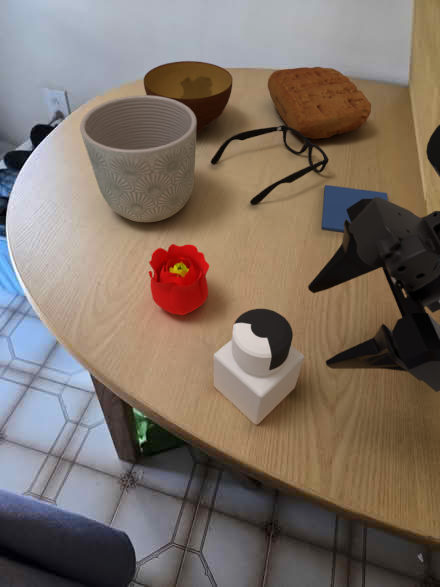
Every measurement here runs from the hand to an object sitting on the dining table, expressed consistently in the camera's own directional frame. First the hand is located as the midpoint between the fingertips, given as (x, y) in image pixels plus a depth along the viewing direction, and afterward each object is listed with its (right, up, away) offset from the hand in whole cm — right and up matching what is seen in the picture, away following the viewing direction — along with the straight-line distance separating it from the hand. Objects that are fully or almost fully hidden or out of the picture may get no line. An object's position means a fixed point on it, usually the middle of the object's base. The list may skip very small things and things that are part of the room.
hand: (318, 325), depth 42 cm
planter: (-22, +18, +32) cm, 43 cm away
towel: (+14, +17, +31) cm, 38 cm away
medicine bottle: (-6, -8, +9) cm, 14 cm away
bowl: (-16, +39, +50) cm, 65 cm away
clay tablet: (+11, +41, +53) cm, 68 cm away
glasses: (0, +26, +39) cm, 47 cm away
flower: (-15, +2, +18) cm, 23 cm away
